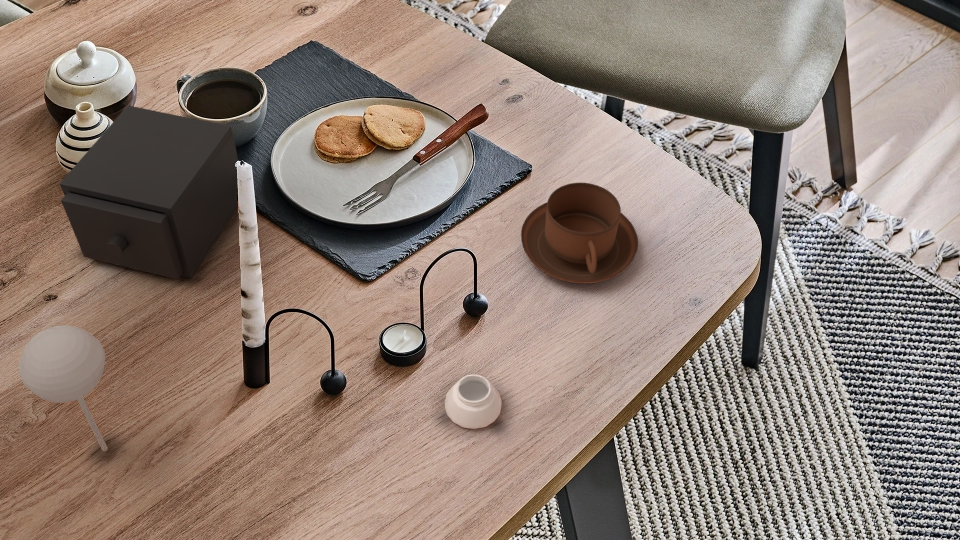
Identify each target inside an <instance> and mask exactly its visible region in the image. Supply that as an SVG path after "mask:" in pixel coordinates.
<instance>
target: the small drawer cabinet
mask: <svg viewBox="0 0 960 540" xmlns="http://www.w3.org/2000/svg"><path fill="white" fill-rule="evenodd" d="M237 161H239V156H238V152H237V148H236V142H235V138H234V134H233V129H232V126H230V125H225V124H221V123H220V124H219V123H215V122H210V121H206V120H200V119H196V118H192V117H187V116H183V115H177V114H172V113H167V112H163V111H158V110H153V109H148V108H143V107H138V106H133V105H127V106H126V107H125V108H124V109H123V111H121V113H119V115H118V116H117V117H116V118H115V119H114V121H112V123H111V124H110V125H109V127H107V129H105V131H104V132H103V133H102V134H101V135H100V137H99V138H98V139H97V140H96V141H95V142H94V144H93V145H92V146H91V147H90V148H89V149H88V150H87V151H86V153H85V154H84V155H83V156H82V157H81V158H80V159H79V161H78V162H77V163H76V164H75V165H74V166H73V168H72V169H71V170H70V171H68V173H67V174H66V176H64V178H63V179H62V180H61V181H60V182H59V186H60V189H61V190H62V192H63V197H64V196H65V195H66V194H67V192H69V193H74V194H78V195H82V196H86V195H88V196H92V197H97V198H101V199H105V200H110V201H114V202H119V203H123V204H127V205H132V206H136V207H141V208H145V209H149V210H154V211H158V212H162V213H165V214H166V215H167V217H168V221H169V224H170V227H171V231H172V234H173V237H174V241H175V244H176V247H177V250H178V254H179V257H180V260H181V264H182V267H183V270H184V271H183V273H182V274H181V276H180V277H185V278H189V279H192V278H193V276H195V274H196V273H197V271H198V269H199V268H200V266H201V264H202V263H203V261H204V260H205V259H206V258H207V255H208V254H209V252H210V251H211V249H212V248H213V247H214V245H215V243H216V242H217V241H218V239H219V237H220V236H221V235H222V233H223V231H224V230H225V229H226V227H227V226H228V224H229V222H230V221H231V220H232V218H233V216H234V215H235V213H236V212H237V211H238V210H239V207H238V203H237V175H236V167H235V163H236V162H237Z"/></svg>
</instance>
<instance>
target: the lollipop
mask: <svg viewBox="0 0 960 540" xmlns="http://www.w3.org/2000/svg"><path fill="white" fill-rule="evenodd" d="M105 363H106V352H105V349H104V347H103V345H102V343H101V342H100V341H99V339H98V338H97V337H96V336H94V335H93V334H92V333H90V332H88V331H87V330H86V329H83V328H80V327H79V326H74V325H67V324H66V325H65V324H63V325H53V326H50V327H47V328H45V329H43V330H40V331H39V332H38V333H36V334H35V335H34V336H33V337H32V338H31V339H30V340H29V341H28V342H27V343H26V345H25V347H24V348H23V351H22V354H21V356H20V359H19V362H18V373H19V377H20V379H21V381H22V383H23V385H24V386H25V387H26V388H27V389H28V390H29V391H30V392H32V393H33V394H34V395H35V396H37V397H38V398H40V399H41V400H44V401H48V402H51V403H57V404H63V403H71V402H75V401H77V402H78V404H79V406H80V408H81V411H82V412H83V415H84V416H85V418H86V420H87V422H88V424H89V426H90V428H91V430H92V432H93V435H94V437H95V439H96V441H97V443H98V444H99V446H100V449H101V451H102V452H107V451H108V449H109V448H108V446H107V443H106V441H105V439H104V437H103V435H102V433H101V431H100V429H99V427H98V425H97V423H96V421H95V419H94V417H93V415H92V412H91V411H90V409H89V407H88V405H87V402H86V400H85V399H84V397H86V396H87V395H88V394H89V393H91V392H92V391H93V390H94V389H95V388H96V387H97V386H98V384H99V383H100V381H101V379H102V377H103V374H104V372H105V371H104V370H105Z"/></svg>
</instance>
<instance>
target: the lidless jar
mask: <svg viewBox="0 0 960 540" xmlns="http://www.w3.org/2000/svg"><path fill="white" fill-rule="evenodd" d="M444 399H445V400H444V408H445V413H446V415H447V416H448V418H449V419H450V420H451V421H452V422H453V423H454V424H456V425H458V426H459V427H462V428H465V429H472V430H477V429H481V428H486V427H488V426H489V425H491V424H492V423H495V421H496V420H497V418H498V417H499V416H500V414H501V410H502V406H503V405H502V404H503V402H502V398H501V395H500V392H499V391H498V390H497V389H496V388H495V386H494V385H492V383H491V382H490V381H489V380H488V379H487V378H486V377H484V376H483V375H480V374H475V373H474V374H467V375H464V376H463V377H461V378H460V379H459V380H458V381H456V382H455V383H454V384H453V385H452V386H451V388H449V390H448V391H447V393H446V395H445V398H444Z"/></svg>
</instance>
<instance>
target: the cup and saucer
mask: <svg viewBox="0 0 960 540" xmlns="http://www.w3.org/2000/svg"><path fill="white" fill-rule="evenodd" d="M520 238H521V239H520V240H521V244H522V248H523V251H524V252H525V254H526V256H527V258H528V259H529V261H530V262H531V263H532V264H533V265H534V266H535V268H538V269H539V270H540V271H542V272H543V273H544V274H546V275H548V276H550V277H553V278H555V279H557V280H561V281H564V282H568V283H574V284H594V283H601V282H605V281H607V280H610V279H613V278H615V277H617V276H618V275H620V274H621V273H623V272H625V271H626V269H628V267H630V265H631V264H632V262H633V261H634V259H635V257H636V255H637V252H638V248H639V239H638V233H637V231H636V229H635V227H634V225H633V223H632V222H631V221H630V219H629V218H627V216H625V214H623V213H622V210H621V204H620V202H619V200H618V199H617V197H616V196H615V195H614V194H613V193H612V192H610V191H609V190H608V189H606V188H604V187H602V186H600V185H597V184H594V183H589V182H572V183H567V184H563V185H561V186H560V187H557V188H556V189H555V190H554V191H553V192H552V193H550V195H549V197H548V200H547V202H544V203H542V204H541V205H539V206H537V207H535V209H533V210H531V212H529V214H528V215H527V217H526V218H525V220H524V221H523V224H522V226H521V232H520Z"/></svg>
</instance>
